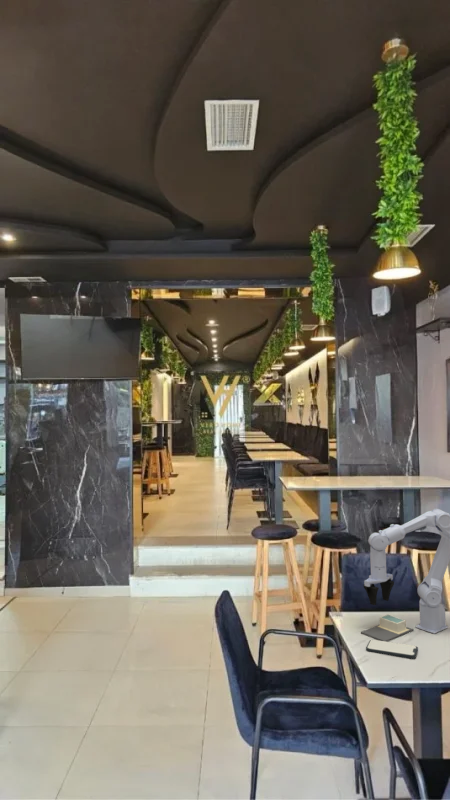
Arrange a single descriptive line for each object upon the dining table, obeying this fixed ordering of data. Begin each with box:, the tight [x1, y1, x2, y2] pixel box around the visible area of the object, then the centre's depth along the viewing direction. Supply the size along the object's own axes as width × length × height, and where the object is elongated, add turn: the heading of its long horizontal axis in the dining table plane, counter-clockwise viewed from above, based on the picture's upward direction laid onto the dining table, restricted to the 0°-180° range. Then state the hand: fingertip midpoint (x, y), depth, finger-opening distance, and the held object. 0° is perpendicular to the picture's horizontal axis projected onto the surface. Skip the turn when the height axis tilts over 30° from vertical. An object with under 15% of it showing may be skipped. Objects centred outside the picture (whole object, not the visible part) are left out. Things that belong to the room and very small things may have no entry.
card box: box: [379, 614, 407, 633], centre depth 193 cm, size 8×5×3 cm, turn 36°
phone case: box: [365, 639, 419, 660], centre depth 176 cm, size 9×2×16 cm
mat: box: [360, 624, 414, 642], centre depth 191 cm, size 17×10×1 cm, turn 126°
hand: (379, 602), depth 196 cm, fingers open, 7 cm apart
